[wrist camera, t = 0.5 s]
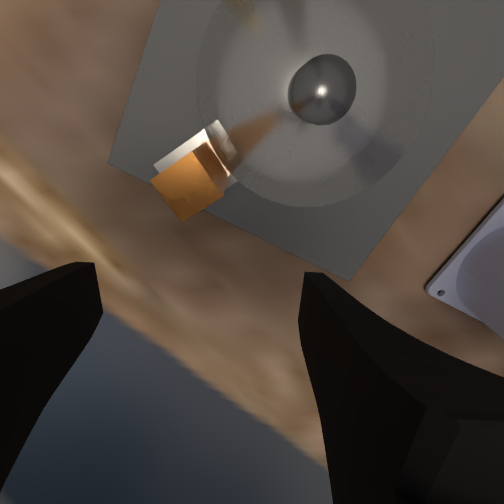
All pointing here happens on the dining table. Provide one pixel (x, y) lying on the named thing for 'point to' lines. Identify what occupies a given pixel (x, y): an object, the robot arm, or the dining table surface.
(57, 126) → the dining table surface
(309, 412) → the dining table surface
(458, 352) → the dining table surface
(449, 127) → the base plate
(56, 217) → the dining table surface
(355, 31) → the lidded saucepan
